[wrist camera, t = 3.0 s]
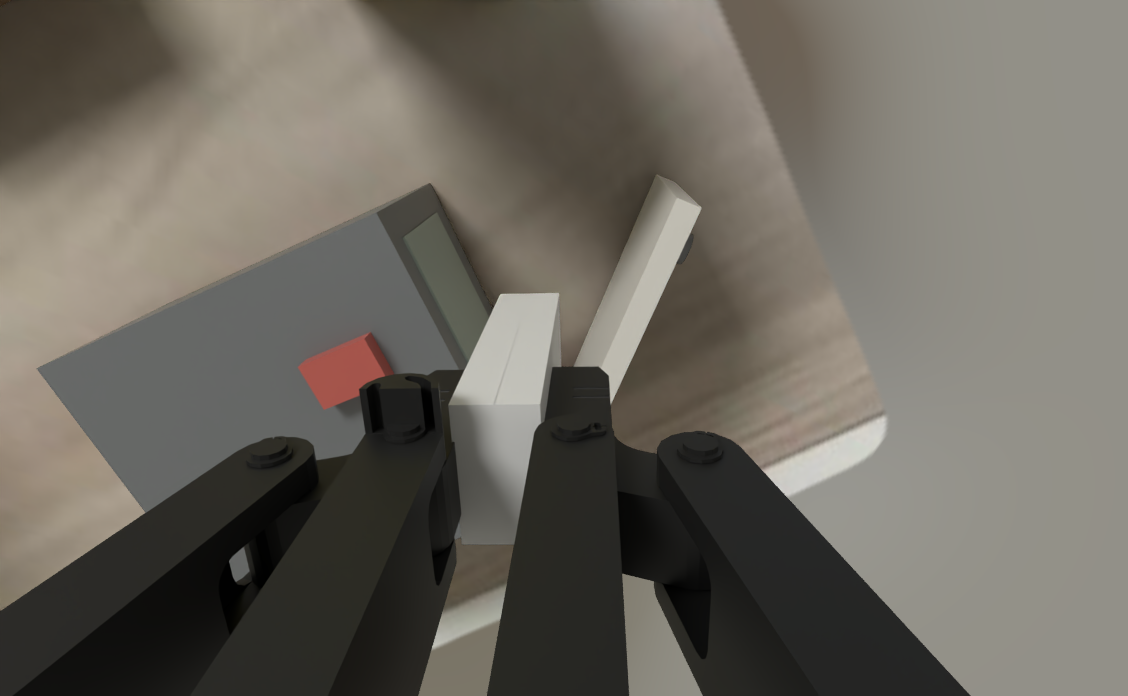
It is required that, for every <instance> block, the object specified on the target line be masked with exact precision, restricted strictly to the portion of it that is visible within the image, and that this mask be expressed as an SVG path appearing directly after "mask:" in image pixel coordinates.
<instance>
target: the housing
mask: <svg viewBox="0 0 1128 696" xmlns="http://www.w3.org/2000/svg"><path fill="white" fill-rule="evenodd" d="M492 311H493V310H492V307H491V305H490V303H489V301H488V299H487V297H486V295H485V293H484V291H483V289H482V287H481V285H480V283H479V281H478V279H477V277H476V275H475V273H474V271H473V269H472V267H471V265H470V263H469V261H468V259H467V257H466V255H465V253H464V251H463V249H462V247H461V245H460V243H459V240H458V238H457V236H456V234H455V232H454V230H453V228H452V226H451V224H450V222H449V220H448V218H447V216H446V214H445V212H444V210H443V208H442V206H441V204H440V202H439V200H438V198H437V196H436V194H435V192H434V190H433V188H432V186H431V184H430V183H429V184H427V185H425V186H423V187H420V188H418V189H416V190H414V191H412V192H410V193H407V194H405V195H403V196H401V197H399V198H397V199H394V200H392V201H390V202H388V203H386V204H384V205H381V206H379V207H377V208H375V209H373V210H371V211H368V212H366V213H364V214H362V215H360V216H358V217H355V218H353V219H351V220H349V221H347V222H344V223H342V224H340V225H338V226H336V227H334V228H331V229H329V230H327V231H325V232H323V233H321V234H318V235H316V236H314V237H312V238H310V239H308V240H305V241H303V242H301V243H299V244H297V245H295V246H292V247H290V248H288V249H286V250H284V251H282V252H279V253H277V254H275V255H273V256H271V257H269V258H266V259H264V260H262V261H260V262H258V263H255V264H253V265H251V266H249V267H247V268H245V269H242V270H240V271H238V272H236V273H234V274H232V275H229V276H227V277H225V278H223V279H221V280H219V281H216V282H214V283H212V284H210V285H208V286H206V287H203V288H201V289H199V290H197V291H195V292H193V293H190V294H188V295H186V296H184V297H182V298H179V299H177V300H175V301H173V302H171V303H169V304H166V305H164V306H162V307H160V308H158V309H156V310H154V311H152V312H150V313H148V314H146V315H144V316H142V317H140V318H138V319H136V320H134V321H132V322H130V323H128V324H126V325H124V326H122V327H120V328H118V329H116V330H114V331H112V332H110V333H108V334H106V335H104V336H101V337H99V338H97V339H95V340H93V341H91V342H89V343H87V344H85V345H83V346H81V347H79V348H77V349H75V350H73V351H71V352H69V353H67V354H65V355H63V356H61V357H59V358H57V359H55V360H53V361H51V362H49V363H47V364H45V365H43V366H41V367H39V368H37V370H38V371H39V372H40V374H41V375H42V376H43V378H44V379H45V380H46V382H47V383H48V384H49V386H50V387H51V388H52V390H53V391H54V392H55V394H56V395H57V396H58V398H59V399H60V400H61V401H62V403H63V404H64V405H65V407H66V408H67V409H68V411H69V412H70V413H71V415H72V416H73V417H74V419H75V420H76V421H77V423H78V424H79V425H80V427H81V428H82V429H83V431H84V432H85V433H86V435H87V436H88V437H89V439H90V440H91V441H92V442H93V444H94V445H95V446H96V448H97V449H98V450H99V452H100V453H101V454H102V456H103V457H104V458H105V460H106V461H107V462H108V464H109V465H110V466H111V468H112V469H113V470H114V472H115V473H116V474H117V476H118V477H119V478H120V479H121V481H122V482H123V483H124V485H125V486H126V487H127V489H128V490H129V491H130V493H131V494H132V495H133V497H134V498H135V499H136V501H137V502H138V503H139V505H140V506H141V507H142V509H143V510H144V511H145V513H146V512H148V511H149V510H151V509H152V508H154V507H155V506H157V505H158V504H160V503H161V502H163V501H164V500H165V499H167V498H168V497H170V496H171V495H173V494H174V493H176V492H177V491H179V490H180V489H182V488H183V487H185V486H186V485H188V484H189V483H191V482H192V481H194V480H195V479H197V478H198V477H199V476H201V475H202V474H204V473H205V472H207V471H208V470H210V469H211V468H213V467H214V466H216V465H217V464H219V463H220V462H222V461H223V460H225V459H226V458H228V457H229V456H231V455H232V454H233V453H235V452H237V451H238V450H240V449H242V448H244V447H246V446H248V445H250V444H253V443H256V442H259V441H261V440H262V439H265V438H270V437H273V438H274V437H277V436H285V437H298V438H302V439H305V440H308V441H309V442H310V443H311V444H312V445H313V446H314V451H315V456H316V460H321V459H327V458H333V457H339V456H344V455H348V454H352V453H353V452H354V450H355V449H356V447H357V446H358V444H359V443H360V441H361V440H362V438H363V437H364V435H365V427H364V421H363V414H362V407H361V400H360V394H359V388H361V387H362V386H363V385H365V384H366V383H367V382H370V381H372V380H375V379H377V378H380V377H384V376H388V375H393V374H403V373H416V374H424V375H429V374H430V373H432V372H434V371H435V370H465V368H466V366H467V364H468V362H469V360H470V358H471V355H472V353H473V351H474V349H475V347H476V345H477V343H478V341H479V338H480V336H481V334H482V332H483V330H484V328H485V326H486V324H487V321H488V319H489V317H490V315H491V313H492ZM454 537H455V539H458V538H461V530H460V520H459V524H458V527H457V530H456V533H455V536H454ZM229 563H230V567H231V571H232V575H233V578H234V580H235V581H236V582H237V581H238V580H240V579H242V578H243V577H244V576H245V575H246V574H247V573H248V572H249V567H248V563H247V558H246V554H245V550H244V547H243V548H242V549H241V550H239V551H238V552H237V553H236V554H235V555H234V556H233V557H232V558H231V559H230V560H229Z"/></svg>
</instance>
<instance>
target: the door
mask: <svg viewBox="0 0 1128 696" xmlns="http://www.w3.org/2000/svg"><path fill="white" fill-rule="evenodd" d="M701 209H702V208H701V207H700V206H699V205H698V204H697V203H696V202H695V201H694V200H693V199H692V198H691V197H690V196H689V195H688V194H687V193H686V192H685V191H684V190H683V189H682V188H681V187H680V186H679V185H678V184H677V183H676V182H674V181H671V180H669V179H666V178H664V177H662V176H659V175H657V174H656V176H655V178H654V180H653V183H652V185H651V187H650V190H649V192H648V194H647V197H646V199H645V201H644V204H643V206H642V208H641V211H640V213H639V215H638V218H637V220H636V222H635V225H634V227H633V229H632V232H631V234H630V236H629V239H628V241H627V243H626V245H625V248H624V250H623V252H622V255H621V257H620V259H619V262H618V264H617V266H616V269H615V271H614V273H613V276H612V278H611V280H610V283H609V285H608V287H607V290H606V292H605V294H604V297H603V299H602V301H601V304H600V306H599V308H598V311H597V313H596V315H595V318H594V320H593V322H592V325H591V327H590V329H589V331H588V334H587V336H586V338H585V341H584V343H583V345H582V348H581V350H580V352H579V355H578V357H577V359H576V362H575V364H574V366H573V367H595V366H599V367H600V368H601V369H602V370H603V371H604V372H605V373H606V374H608V375H609V385H610V402H611V403H612V401H613V399H614V397H615V394H616V392H617V390H618V388H619V386H620V384H621V381H622V379H623V377H624V375H625V373H626V371H627V368H628V366H629V364H630V362H631V360H632V358H633V355H634V353H635V351H636V349H637V347H638V345H639V343H640V340H641V338H642V336H643V334H644V332H645V330H646V327H647V325H648V323H649V321H650V319H651V317H652V314H653V312H654V310H655V308H656V306H657V304H658V301H659V299H660V297H661V295H662V293H663V291H664V289H665V286H666V284H667V282H668V280H669V278H670V276H671V273H672V271H673V269H674V267H675V265H676V263H677V264H682V263H683V262H684V260H685V259H686V257H687V255H688V253H689V250H690V248H691V245H692V242H693V234H690V232H691V230H692V228H693V226H694V224H695V222H696V219H697V217H698V215H699V213H700V211H701Z"/></svg>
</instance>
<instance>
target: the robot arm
mask: <svg viewBox="0 0 1128 696" xmlns="http://www.w3.org/2000/svg"><path fill="white" fill-rule="evenodd" d="M359 394H360V400H361V407H362V414H363V421H364V427H365V435H364V437H363V438H362V440H361V441H360V443H359V444H358V446H357V447H356V449H355V450H354V452H353V453H352V454H348V455H344V456H339V457H333V458H327V459H321V460H316V456H315V451H314V446H313V445H312V444H311V443H310V442H309V441H308V440H305V439H302V438H298V437H285V436H277V437H274V438H273V437H270V438H265V439H262V440H261V441H259V442H256V443H253V444H250V445H248V446H246V447H244V448H242V449H240V450H238V451H237V452H235V453H233V454H232V455H231V456H229V457H228V458H226V459H225V460H223V461H222V462H220V463H219V464H217V465H216V466H214V467H213V468H211V469H210V470H208V471H207V472H205V473H204V474H202V475H201V476H199V477H198V478H197V479H195V480H194V481H192V482H191V483H189V484H188V485H186V486H185V487H183V488H182V489H180V490H179V491H177V492H176V493H174V494H173V495H171V496H170V497H168V498H167V499H165V500H164V501H163V502H161V503H160V504H158V505H157V506H155V507H154V508H152V509H151V510H149V511H148V512H146V513H145V514H143V515H142V516H140V517H139V518H137V519H136V520H134V521H133V522H131V523H130V524H129V525H127V526H126V527H124V528H123V529H121V530H120V531H118V532H117V533H115V534H114V535H112V536H111V537H109V538H108V539H106V540H105V541H103V542H102V543H100V544H99V545H97V546H96V547H95V548H93V549H92V550H90V551H89V552H87V553H86V554H84V555H83V556H81V557H80V558H78V559H77V560H75V561H74V562H72V563H71V564H69V565H68V566H66V567H65V568H63V569H62V570H61V571H59V572H58V573H56V574H55V575H53V576H52V577H50V578H49V579H47V580H46V581H44V582H43V583H41V584H40V585H38V586H37V587H35V588H34V589H32V590H31V591H29V592H28V593H27V594H25V595H24V596H22V597H21V598H19V599H18V600H16V601H15V602H13V603H12V604H10V605H9V606H7V607H6V608H4V609H3V610H1V611H0V696H418V694H419V691H420V687H421V684H422V680H423V677H424V673H425V670H426V666H427V663H428V659H429V656H430V653H431V649H432V646H433V642H434V639H435V635H436V632H437V628H438V625H439V621H440V618H441V614H442V611H443V608H444V604H445V601H446V597H447V594H448V590H449V587H450V583H451V580H452V576H453V573H454V569H455V566H456V547H455V537H454V536H455V533H456V530H457V527H458V524H459V520H460V530H461V540H462V545H514V548H513V553H512V559H511V565H510V570H509V576H508V581H507V587H506V592H505V598H504V603H503V609H502V615H501V620H500V626H499V631H498V637H497V643H496V648H495V654H494V660H493V665H492V671H491V676H490V682H489V687H488V692H487V696H629V686H628V669H627V651H626V634H625V616H624V599H623V583H622V574H626V575H630V576H635V577H639V578H643V579H647V580H651V581H654V589H655V594H656V597H657V600H658V602H659V604H660V606H661V608H662V610H663V612H664V614H665V617H666V618H667V621H668V623H669V625H670V627H671V629H672V631H673V634H674V636H675V638H676V640H677V642H678V644H679V646H680V648H681V650H682V653H683V655H684V657H685V659H686V661H687V663H688V665H689V667H690V669H691V671H692V674H693V676H694V678H695V680H696V682H697V684H698V686H699V688H700V691H701V693H702V695H703V696H970V695H969V694H968V693H967V691H966V690H965V689H964V688H963V687H962V686H961V685H960V684H959V683H958V682H957V681H956V680H955V679H954V678H953V676H952V675H951V674H950V673H949V672H948V671H947V670H946V669H945V668H944V667H943V666H942V664H940V662H939V661H938V660H937V659H936V658H935V657H934V656H933V655H932V654H931V653H930V652H929V650H928V649H927V648H926V647H925V646H924V645H923V644H922V643H921V642H920V641H919V640H918V638H917V637H916V636H915V635H914V634H913V633H912V632H911V631H910V630H909V629H908V628H907V627H906V626H905V624H904V623H903V622H902V621H901V620H900V619H899V618H898V617H897V616H896V615H895V614H894V613H893V611H892V610H891V609H890V608H889V607H888V606H887V605H886V604H885V603H884V602H883V601H882V600H881V599H880V598H879V596H878V595H877V594H876V593H875V592H874V591H873V590H872V589H871V588H870V587H869V585H868V584H867V583H866V582H864V580H863V579H862V578H861V577H860V576H859V575H858V574H857V573H856V571H854V570H853V568H852V567H851V566H850V565H849V564H848V563H847V562H846V561H845V560H844V558H843V557H841V555H840V554H839V553H838V552H837V551H836V550H835V549H834V548H833V547H832V545H831V544H830V543H829V542H828V541H827V540H826V539H825V538H824V537H823V536H822V535H821V534H820V533H819V531H818V530H817V529H816V528H815V527H814V526H813V525H812V524H811V523H810V522H809V521H808V520H807V518H805V516H804V515H803V514H802V513H801V512H800V511H799V510H798V509H797V508H796V507H795V505H794V504H793V503H792V502H791V501H790V500H789V499H788V498H787V497H786V496H785V495H784V494H783V493H782V491H781V490H780V489H779V488H778V487H777V486H776V485H775V484H774V483H773V482H772V481H771V480H770V478H769V477H768V476H767V475H766V474H765V473H764V472H763V471H762V470H761V469H760V468H759V467H758V465H757V464H756V463H755V462H754V461H753V460H752V459H751V458H750V457H749V456H748V455H747V454H746V453H745V451H744V450H743V449H742V448H741V447H740V446H738V445H737V444H736V443H734V442H733V441H732V440H730V439H727V438H725V437H722V436H719V435H717V434H715V433H710V432H707V433H705V432H704V431H695V432H684V433H680V434H676V435H671V436H669V437H668V438H666V439H664V440H663V441H661V443H660V445H659V446H658V448H657V454H655V453H649V452H644V451H640V450H636V449H633V448H631V447H628V446H626V445H624V444H623V443H621V442H620V441H618V440H617V438H616V437H615V436H614V431H613V429H612V419H611V402H610V385H609V375H608V374H606V373H605V372H604V371H603V370H602V369H601V368H600V367H599V366H595V367H561V337H560V306H559V293H528V294H500V296H499V298H498V300H497V302H496V304H495V306H494V309H493V311H492V313H491V315H490V317H489V319H488V321H487V324H486V326H485V328H484V330H483V332H482V334H481V336H480V338H479V341H478V343H477V345H476V347H475V349H474V351H473V353H472V355H471V358H470V360H469V362H468V364H467V366H466V368H465V370H435V371H434V372H432V373H430V374H429V375H424V374H416V373H403V374H393V375H388V376H384V377H380V378H377V379H375V380H372V381H370V382H367V383H366V384H365V385H363V386H362V387H361V388H359ZM243 547H244V550H245V554H246V558H247V563H248V567H249V572H248V573H247V574H246V575H245V576H244V577H243V578H242V579H240V580H238V581H237V582H236V581H235V580H234V578H233V575H232V571H231V567H230V563H229V560H230V559H231V558H232V557H233V556H234V555H235V554H236V553H237V552H238V551H239V550H241V549H242V548H243Z"/></svg>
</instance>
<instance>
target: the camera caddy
mask: <svg viewBox="0 0 1128 696" xmlns="http://www.w3.org/2000/svg"><path fill="white" fill-rule="evenodd" d="M10 1H11V0H0V7H1V6H3V5H5V4H6V3H8V2H10Z"/></svg>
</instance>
